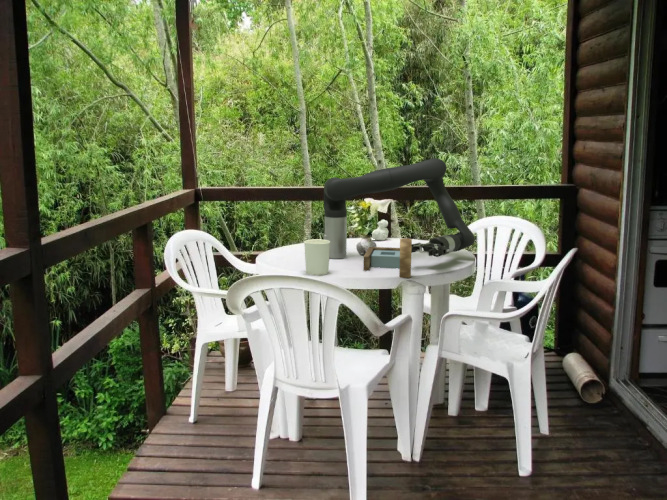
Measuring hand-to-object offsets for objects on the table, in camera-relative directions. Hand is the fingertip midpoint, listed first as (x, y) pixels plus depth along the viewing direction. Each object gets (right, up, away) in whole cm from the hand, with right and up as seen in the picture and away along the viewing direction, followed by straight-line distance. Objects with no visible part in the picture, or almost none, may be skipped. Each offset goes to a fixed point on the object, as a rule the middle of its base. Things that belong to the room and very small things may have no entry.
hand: (419, 251), depth 247 cm
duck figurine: (-10, +5, +71) cm, 72 cm away
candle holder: (-39, -8, 0) cm, 40 cm away
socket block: (-11, -6, +15) cm, 19 cm away
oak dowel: (-6, -9, -6) cm, 13 cm away
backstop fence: (-11, -6, +13) cm, 18 cm away
